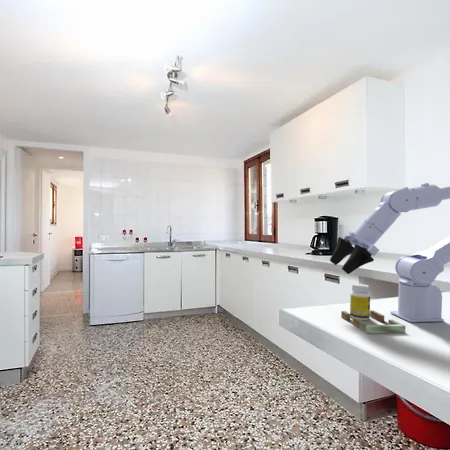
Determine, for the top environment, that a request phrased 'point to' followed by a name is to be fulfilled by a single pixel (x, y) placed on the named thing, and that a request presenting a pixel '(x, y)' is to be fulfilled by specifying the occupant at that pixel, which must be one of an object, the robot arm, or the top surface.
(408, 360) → the top surface
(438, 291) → the robot arm
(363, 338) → the top surface
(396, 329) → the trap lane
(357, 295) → the supplement bottle
